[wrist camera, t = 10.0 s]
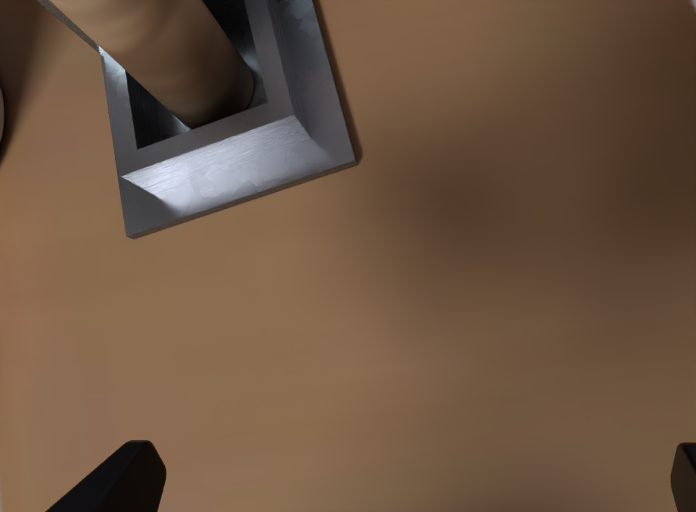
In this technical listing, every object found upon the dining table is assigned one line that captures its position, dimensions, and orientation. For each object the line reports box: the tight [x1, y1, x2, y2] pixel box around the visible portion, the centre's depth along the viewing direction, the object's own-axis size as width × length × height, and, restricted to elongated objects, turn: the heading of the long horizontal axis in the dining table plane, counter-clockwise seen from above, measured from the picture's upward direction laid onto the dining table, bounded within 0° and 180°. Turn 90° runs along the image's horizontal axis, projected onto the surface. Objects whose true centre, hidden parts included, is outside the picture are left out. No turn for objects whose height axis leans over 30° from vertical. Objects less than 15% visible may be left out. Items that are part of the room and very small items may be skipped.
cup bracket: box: [37, 0, 358, 239], centre depth 24 cm, size 12×12×9 cm
